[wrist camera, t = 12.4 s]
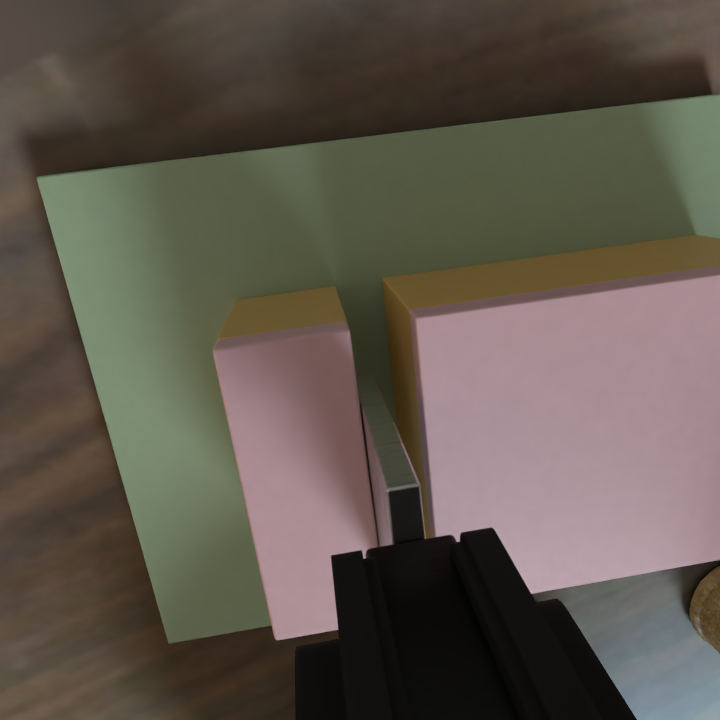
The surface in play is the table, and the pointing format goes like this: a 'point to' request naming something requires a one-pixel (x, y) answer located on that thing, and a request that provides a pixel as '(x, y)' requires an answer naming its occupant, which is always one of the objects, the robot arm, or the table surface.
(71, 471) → the table surface
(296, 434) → the slice
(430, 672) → the knife
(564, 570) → the cake
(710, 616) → the sprinkles bottle
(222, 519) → the cake board
